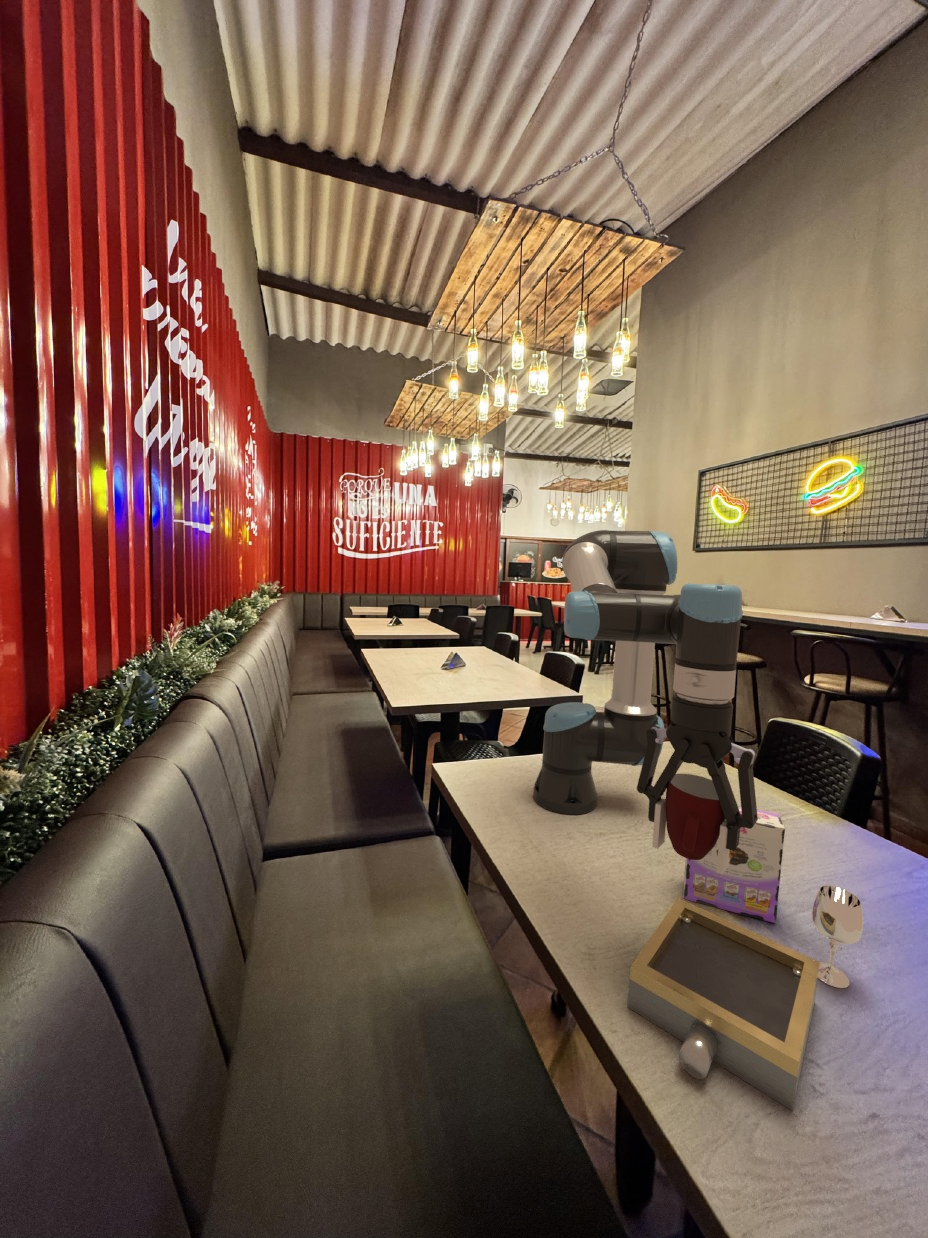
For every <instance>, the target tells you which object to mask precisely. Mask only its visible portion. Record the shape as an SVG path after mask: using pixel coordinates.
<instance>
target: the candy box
mask: <svg viewBox="0 0 928 1238" xmlns="http://www.w3.org/2000/svg"><path fill="white" fill-rule="evenodd" d="M738 808H739V811H740V814H742V810H741V805H740V806H739V805H738ZM757 817H758V820H757V822H756V823H755V825H754V826H753V827H752V828H751V829H748V828H746V827H741V828H740V837H739V845H738V846H737V848H736V849H735V851H732V850H730V851H729V862H728V867H727V869H726V870H725V872H724V873H723V875H722V874H719V873H717V872H716V871H717V859H718V848H719V838H718V840H717V842H716V844H715V846H714V847H713V849H712V850H711V851H710V852H709V853H708V854H707V855H706V856H705V857H704V858H702V859H701V860H691V859H687V858H685V860H684V861H685V864H684V874H683V891H682V892H683V893H682V895H683V896H682V897H683V899H685V900H688V901H691V902H694V903H699V904H702V905H705V906H710V907H713V908H718V909H721V910H725V911H727V912H731V913H736V914H739V915H742V916H747V917H751V918H755V919H759V920H762V921H765V922H769V923H773V924H776V923H777V915H778V914H777V913H778V904H779V892H780V881H781V875H782V874H781V873H782V862H783V852H784V843H785V832H786V828H785V826H784V824H783V821H782V818H781V817H780V814H779V813H777V812H772V811H765V810H760V809H757ZM719 836H720V835H719Z"/></svg>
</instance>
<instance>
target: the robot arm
mask: <svg viewBox="0 0 928 1238" xmlns="http://www.w3.org/2000/svg"><path fill="white" fill-rule="evenodd" d="M670 535H671V534H668V533H667V532H662V531H653V530H608V529H601V530H595V531H590V532H588V533H585V534H583V535H581V536H579V537H577V538H576V539H575V540H573V541H572V542H571V543H570V544H568V546H567V547H566V548H565V550H564V552H563V555H562V560H561V561H562V563H561V565H562V570H563V574H564V576H565V577H566V578H567V579H568V580H569V583H570V587H571V591H570V592H567V594H566V596H565V598H564V600H565V601H564V610H563V611H564V612H563V630H564V634H565V635H566V636H567V637H569V638H572V639H583V640H586V641H591V640H592V641H593V640H594V641H611V642H612V641H613V642H614V641H615V647H614V648H615V650H614V662H613V664H614V665H613V678H612V691H611V692H612V693H611V698H610V699H609V700H607V701H606V702H605V703H604V711H597V710H596V707H595V706H594V705H593V704H590V703H584V702H580V701H579V702H578V701H576V702H575V701H572V702H569V701H568V702H561V703H558V704H555V705H552V706H550V707H549V708H548V709H547V710H546V712H545V714H544V715H545V716H544V724H543V727H542V728H543V731H544V733H543V745H542V760H541V761H542V763H541V768H540V771H539V772H538V775H537V778H536V780H535V782H534V785H533V796H532V797H533V800H534V801H535V802H536V804H538V805H539V806H540V807H542V808H543V809H546V810H547V811H551V812H555V813H558V814H563V815H584V814H587V813H590V812H592V811H594V809H596V807H597V804H598V803H597V802H598V793H597V790H596V786H595V781H594V777H593V774H592V766H593V765H592V763H593V762H594V763H595V762H596V763H606V764H616V765H617V764H619V765H628V766H633V767H636V766H641V769H640V772H639V778H638V781H637V784H636V792H638V793H639V794H643V795H645V796H646V797H647V799H648V815H647V818H648V821H649V822H652V823H653V834H652V846H651V847H652V848H654V849H657V850H659V848H660V847H661V846H662V845H663V844H664V843H665V841H666V840H665V839H666V830H667V824H666V798H664V797H663V796H664V795H665V793H666V790H667V784H668V782H669V780H670V782H671V781H672V779H673V777H674V776H675V774H678V773H677V772H678V771H679V769H680V767H682V765H683V763H686V764H695V765H697V766H699V767H701V768H703V769H704V768H705V769H706V770H707V773H708V776H709V777H710V778H711V780H712V781H713V784H714V787H715V790H716V793H717V796H718V798H719V801H720V804H721V807H722V810H723V813H724V816H725V821H724V822H723V823H722V824H721V825H720V836H719V848H718V859H717V871H716V872H717V873H719V874H722V875H723V873H724V872H725V870H726V869H727V867H728V862H729V851H730V850H732V851H735V849H736V848H737V846H738V845H739V837H740V828H741V827H746V828H748V829H751V828H752V827H753V826H754V825H755V823H756V822H757V820H758V817H757V810H758V807H757V798H756V790H755V789H756V788H755V776H754V769H753V766H754V762H755V760H756V757H757V750H756V749H755V748H753V747H748V748H745V747H743V746H740V745H738V744H736V743H734V740H733V737H732V735H731V734H732V732H731V731H732V721H733V712H734V711H733V710H734V704H732V702H731V701H730V700H732V699H733V698H735V692H736V691H735V689H736V675H737V663H738V662H737V661H738V652H739V641H740V633H741V624H742V623H741V622H742V618H743V614H744V611H743V609H742V607H743V591H742V589H741V587H739V586H737V585H734V584H713V583H711V584H709V583H685V584H684V585H683V586H682V587H681V591H680V594H673V595H670V594H666V593H667V585H668V586H670V585H672V584H674V583H675V582H676V579H677V573H678V555H677V549H676V544H675V542H674V540H673V538H672V536H670ZM656 644H665V645H667V644H670V645H675V647H676V648H675V649H676V650H675V662H674V672H673V674H674V675H673V685H672V686H673V688H672V690H673V692H675V694H674V695H673V696H672V698H671V707H670V708H671V710H670V723H669V726H667V728H665V724H664V720H663V719H662V717H660V716H659V715H657V714H658V713H657V711H658V710H657V708H656V707H655V705H653V704H652V703H651V699H652V689H653V688H652V687H653V675H654V674H653V672H654V663H655V661H654V659H655V650H656V649H655V648H656V647H655V646H656ZM666 738H667V739H668V741H669V743H670V745H671V746H672V748H673V752H672V754H671V756H670V758H669V759H668V762H667V764H666V766H665V767H664V769H663V770H662V772H661V773H660V776H659V777H658V778H657V781H656V782H655V784H654V786H653V785H652V784H653V780H654V776H655V773H656V769H657V765H658V761H659V758H660V755H661V753H662V750H663V744H664V742H665V741H666ZM729 753H731V754H732V755H733V760H734V762H735V763H736V764H738V765H737V777H738V787H739V788H738V789H739V796H740V807H741V810H742V814H740V811H739V808H738V806H739V805H738V802H737V801H736V797H735V795H734V791H733V788H732V786H731V784H730V780H729V778H728V774H727V772H726V764H725V762H724V759H723V758H724V757H726V756H727V755H728V754H729Z"/></svg>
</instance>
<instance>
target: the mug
mask: <svg viewBox="0 0 928 1238" xmlns="http://www.w3.org/2000/svg"><path fill="white" fill-rule="evenodd" d="M665 799H666V832H667V835H668V837H669V840H670V843H671V846H672V849H673V850H674V852H675V853H676V854H678V855H679V856H680V857H683V858H684V859H686V858H687V859H691V860H701V859H702V858H704V857H705V856H706V855H707V854H708V853H709V852H710V851H711V850H712V849H713V847H714V846H715V844H716V842H717V840H718V838H719V835H720V825H721V824H722V823H723V822H724V821H725V816H724V813H723V810H722V807H721V804H720V801H719V798H718V796H717V793H716V790H715V787H714V784H713V781H712V779H709V778H707V777H704V776H700V775H696V774H691V773H676V774H675V776H674V777H673V779H672V781H671V782H670V780H669V782H668V784H667V789H666V790H665Z"/></svg>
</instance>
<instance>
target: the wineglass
mask: <svg viewBox="0 0 928 1238" xmlns="http://www.w3.org/2000/svg"><path fill="white" fill-rule="evenodd" d="M811 919H812V923H813V924H814V926H815V928H816V930H817V931H818V932H819V933H820V934H821V935H822V936H824V938H826V939H827V940H829V942H828V947H829V953H830V955H829V959H828V960H829V962H828V963H826V962H824V961H823V962H821V961H819V962H820V965H819V973H818V980H820V981H822V982H823V983H824V984H826V985H828V986H831V987H834V988H837V989H846V988H848V987H849V986H850V980H849V977H848V976H847V975H846V973H844V972H843V971H842V970H841V969H840V968H837V967H836V966H834V962H835V961H834V960H835V955H836V952H837V951H838V949H839V944H841V945H853V944H855V943H858V941H860V939H861V938H862V935H863V932H864V926H865V923H864V920H865V919H864V912H863V906H862V902H861V899H859V897H857V895H855V894H854V893H851V892H850V891H849V890H846V889H845V888H843V887H838V886H835V885H829V884H828V885H822V886H821V887H819V889H818V890H817V893H816V894H815V897H814V899H813V903H812V908H811Z"/></svg>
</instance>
